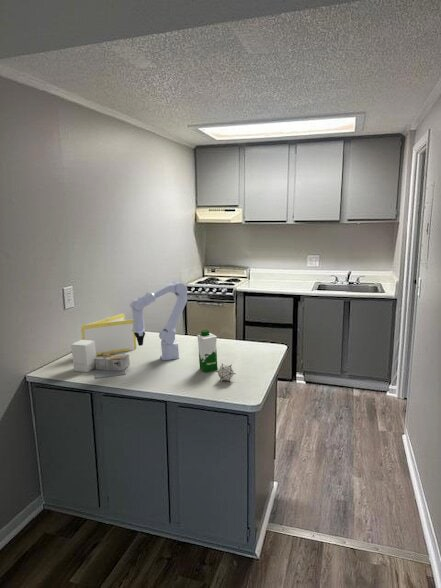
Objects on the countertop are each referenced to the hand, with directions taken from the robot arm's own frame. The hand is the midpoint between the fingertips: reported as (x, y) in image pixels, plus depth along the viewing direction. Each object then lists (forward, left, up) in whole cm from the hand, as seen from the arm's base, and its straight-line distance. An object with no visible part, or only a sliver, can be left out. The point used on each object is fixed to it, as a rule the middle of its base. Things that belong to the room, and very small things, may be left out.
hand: (140, 345), depth 228 cm
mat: (+17, +7, -10) cm, 21 cm away
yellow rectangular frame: (+13, -29, -11) cm, 34 cm away
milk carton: (-32, +23, -11) cm, 41 cm away
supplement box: (+30, -3, -11) cm, 32 cm away
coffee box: (+9, +6, -7) cm, 12 cm away
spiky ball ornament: (-36, +41, -11) cm, 56 cm away
